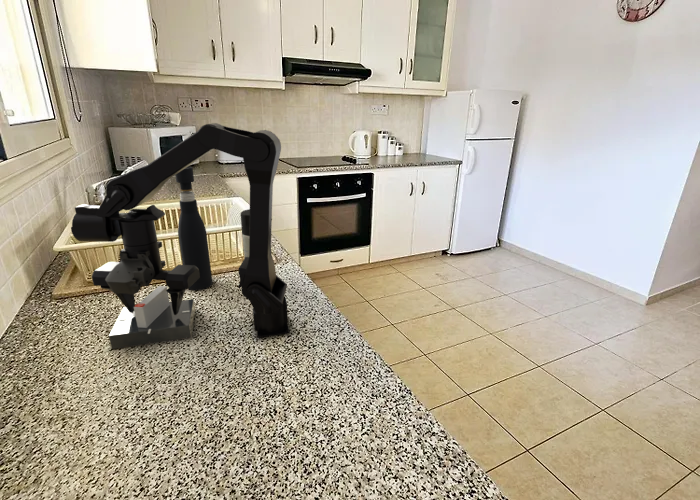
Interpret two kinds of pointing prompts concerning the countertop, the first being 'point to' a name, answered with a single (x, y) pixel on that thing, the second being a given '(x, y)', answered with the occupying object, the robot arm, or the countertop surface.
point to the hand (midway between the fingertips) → (154, 312)
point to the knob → (151, 306)
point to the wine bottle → (192, 232)
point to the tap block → (153, 327)
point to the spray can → (245, 230)
